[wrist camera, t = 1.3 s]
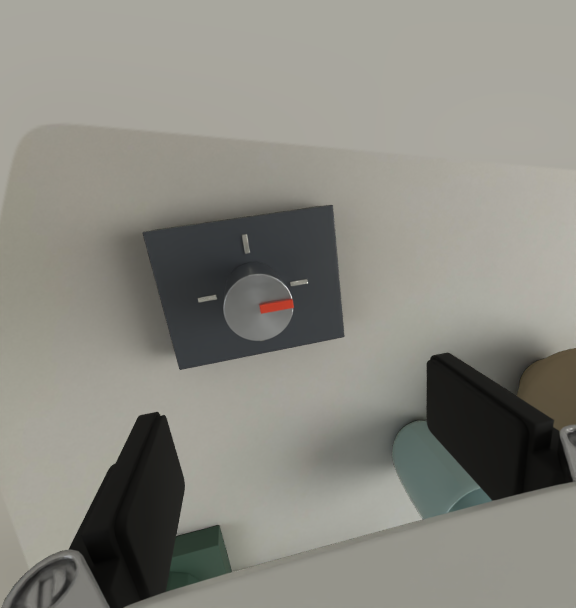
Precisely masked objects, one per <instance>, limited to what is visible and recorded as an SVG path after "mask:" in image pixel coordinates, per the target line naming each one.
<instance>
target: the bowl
mask: <svg viewBox="0 0 576 608" xmlns="http://www.w3.org/2000/svg"><path fill="white" fill-rule="evenodd" d="M517 397H519V398H521V399H522V400H524V401H525V402H527V403H528V404H530V405H532V406H533V407H535V408H536V409H538V410H539V411H541V412H542V413H544V414H546V415H547V416H549V417H550V418H552V419H553V420H554V425H553V427H554V428H556V429H557V430H559V431H560V430H561V429H562V428H563V427H565V426H568V425H576V348H574V349H568V350H565V351H561V352H558V353H556V354H553V355H551V356H549V357H547V358H545V359H541V360H538V361H536V362H535V363H533V364H531V365H530V366H529V367H528V368H527V369H526V370H525V371H524V373H523V374H522V376H521V379H520V383H519V389H518V393H517Z"/></svg>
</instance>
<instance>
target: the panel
mask: <svg viewBox="0 0 576 608" xmlns="http://www.w3.org/2000/svg"><path fill="white" fill-rule="evenodd" d="M143 236H144V240H145V244H146V247H147V251H148V255H149V258H150V262H151V266H152V269H153V273H154V277H155V281H156V284H157V288H158V292H159V295H160V299H161V303H162V307H163V310H164V314H165V318H166V321H167V325H168V329H169V332H170V336H171V340H172V344H173V347H174V351H175V355H176V358H177V362H178V366H179V369H180V370H182V369H187V368H192V367H197V366H202V365H207V364H212V363H217V362H222V361H227V360H232V359H237V358H242V357H247V356H252V355H257V354H262V353H267V352H272V351H277V350H282V349H287V348H292V347H297V346H302V345H307V344H312V343H317V342H322V341H327V340H332V339H337V338H342V337H344V326H343V315H342V304H341V292H340V281H339V269H338V258H337V247H336V235H335V224H334V213H333V205H326V206H318V207H311V208H304V209H297V210H290V211H283V212H276V213H269V214H262V215H255V216H248V217H241V218H234V219H227V220H220V221H213V222H207V223H200V224H193V225H186V226H179V227H172V228H165V229H158V230H151V231H146V232H143ZM251 262H257V263H262V264H265V265H267V266H269V267H270V268H272V269H273V270H274V271H275V272H276V273H277V275H278V276H279V277H280V279H281V280H282V281H283V283H284V284H285V285H286V287H287V288H288V290H289V291H290V293H291V296H292V299H293V305H294V308H293V314H292V317H291V320H290V322H289V323H288V325H287V327H286V328H285V329H284V330H283V331H282V332H281V333H279V334H278V335H276V336H275V337H273V338H270V339H267V340H262V341H254V340H248V339H245V338H243V337H241V336H239V335H237V334H236V333H235V332H234V331H233V330H232V329H231V328H230V327H229V325H228V324H227V322H226V319H225V316H224V311H223V305H224V295H225V286H226V282H227V279H228V277H229V276H230V274H231V273H232V272H233V271H234V270H235V269H236V268H237V267H239V266H241V265H243V264H246V263H251Z"/></svg>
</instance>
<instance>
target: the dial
mask: <svg viewBox="0 0 576 608" xmlns="http://www.w3.org/2000/svg"><path fill="white" fill-rule="evenodd" d="M293 308H294V305H293V299H292V296H291V293H290V291H289V290H288V288H287V287H286V285H285V284H284V283H283V281H282V280H281V279H280V277H279V276H278V275H277V273H276V272H275V271H274V270H273V269H272V268H270V267H269V266H267V265H265V264H262V263H257V262H251V263H246V264H243V265H241V266H239V267H237V268H236V269H235V270H234V271H233V272H232V273H231V274H230V276H229V277H228V279H227V282H226V286H225V295H224V305H223V311H224V316H225V319H226V322H227V324H228V325H229V327H230V328H231V329H232V330H233V331H234V332H235V333H236V334H237V335H239V336H241V337H243V338H245V339H248V340H254V341H262V340H267V339H270V338H273V337H275V336H276V335H278V334H279V333H281V332H282V331H283V330H284V329H285V328H286V327H287V325H288V323H289V322H290V320H291V317H292V314H293Z"/></svg>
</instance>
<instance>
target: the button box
mask: <svg viewBox="0 0 576 608" xmlns="http://www.w3.org/2000/svg"><path fill="white" fill-rule="evenodd" d="M231 572H232V570H231V566H230V563H229V559H228V555H227V552H226V548H225V544H224V541H223V537H222V533H221V530H220V526H219V525H218V526H214V527H210V528H207V529H203V530H199V531H195V532H192V533H188V534H184V535H180V536H177V537H176V539H175V544H174V550H173V555H172V561H171V566H170V571H169V577H168V582H167V588H166V592H167V591H170V590H174V589H177V588H180V587H184V586H187V585H190V584H194V583H197V582H201V581H204V580H207V579H211V578H214V577H217V576H221V575H224V574H227V573H231Z"/></svg>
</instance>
